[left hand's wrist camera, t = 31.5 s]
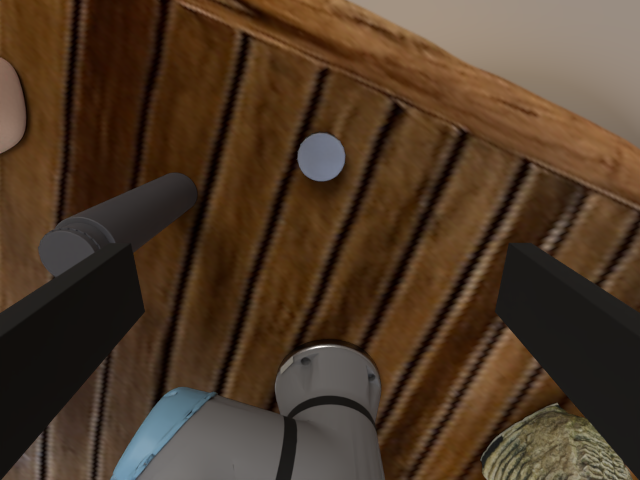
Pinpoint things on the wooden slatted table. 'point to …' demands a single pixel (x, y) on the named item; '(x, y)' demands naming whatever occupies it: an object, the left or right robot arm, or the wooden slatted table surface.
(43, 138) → the wooden slatted table surface
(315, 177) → the lid
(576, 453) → the fossil
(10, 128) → the anatomical model
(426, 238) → the wooden slatted table surface
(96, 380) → the wooden slatted table surface
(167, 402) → the left robot arm
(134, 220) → the dark grey cylinder
